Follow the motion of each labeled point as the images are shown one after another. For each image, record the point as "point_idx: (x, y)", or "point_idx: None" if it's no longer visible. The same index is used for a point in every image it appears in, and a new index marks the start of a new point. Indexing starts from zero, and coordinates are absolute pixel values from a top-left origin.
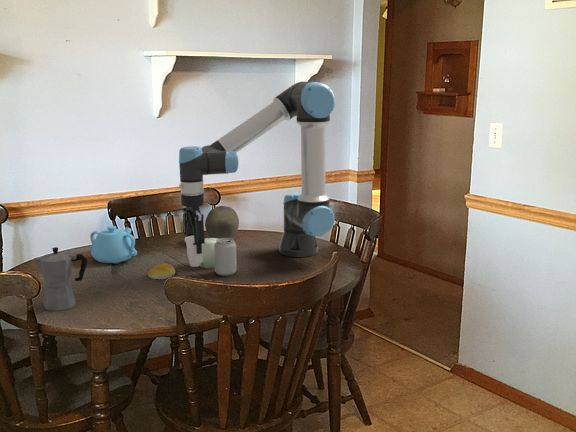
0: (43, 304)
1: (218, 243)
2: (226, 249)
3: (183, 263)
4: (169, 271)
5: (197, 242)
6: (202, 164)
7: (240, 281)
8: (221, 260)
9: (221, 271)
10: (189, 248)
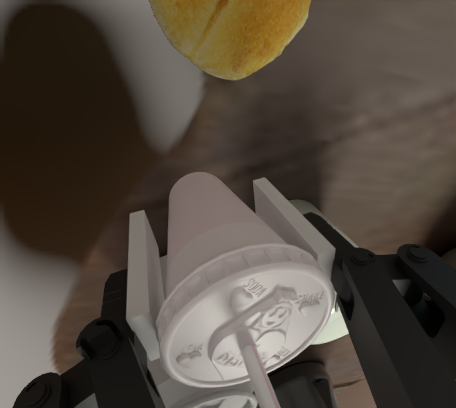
0: None
1: (181, 400)
2: None
3: (348, 140)
4: (184, 33)
5: (24, 403)
6: None
7: (71, 318)
8: None
9: None
10: (187, 240)
